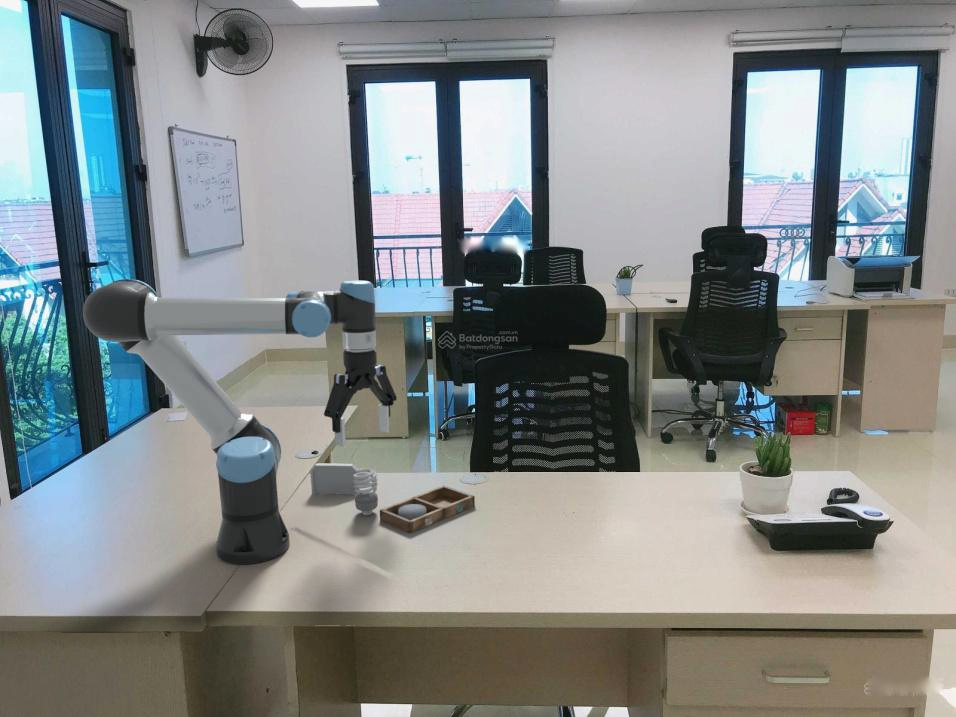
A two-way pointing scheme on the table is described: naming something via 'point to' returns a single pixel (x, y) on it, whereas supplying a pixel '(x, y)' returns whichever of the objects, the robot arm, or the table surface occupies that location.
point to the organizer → (429, 508)
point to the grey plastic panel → (333, 478)
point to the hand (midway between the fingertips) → (362, 438)
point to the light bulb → (365, 490)
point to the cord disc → (412, 511)
